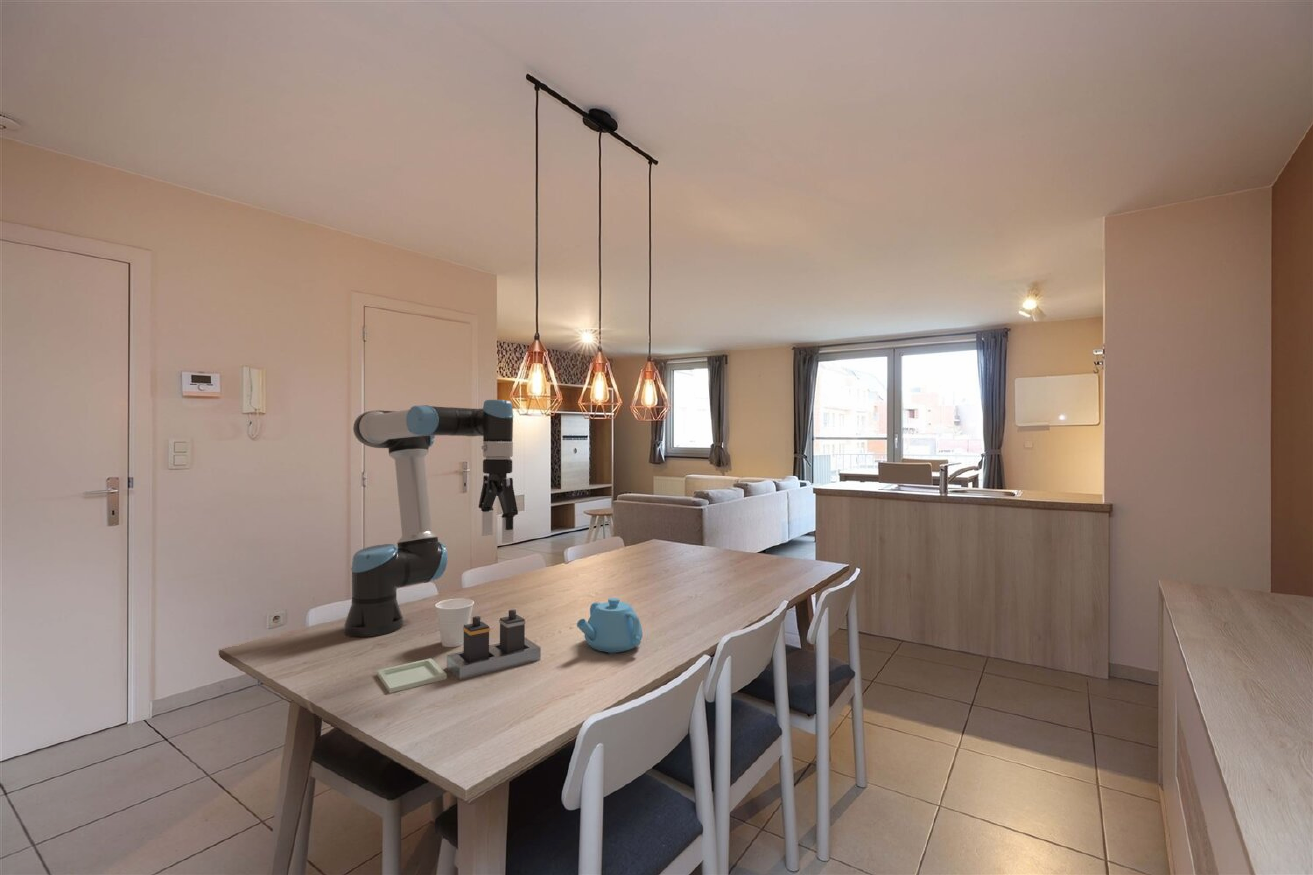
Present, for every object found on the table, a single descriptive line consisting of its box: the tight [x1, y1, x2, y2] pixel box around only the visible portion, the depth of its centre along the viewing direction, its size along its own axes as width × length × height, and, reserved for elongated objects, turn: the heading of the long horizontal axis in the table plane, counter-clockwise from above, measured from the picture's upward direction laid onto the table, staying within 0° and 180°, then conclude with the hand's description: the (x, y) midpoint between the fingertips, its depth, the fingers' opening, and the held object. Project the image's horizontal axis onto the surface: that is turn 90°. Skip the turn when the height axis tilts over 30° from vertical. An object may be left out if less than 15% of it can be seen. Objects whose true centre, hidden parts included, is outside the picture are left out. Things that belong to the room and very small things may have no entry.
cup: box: [434, 598, 475, 648], centre depth 150 cm, size 10×10×11 cm
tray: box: [376, 657, 448, 694], centre depth 129 cm, size 12×12×2 cm
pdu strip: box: [446, 637, 542, 681], centre depth 137 cm, size 9×20×4 cm, turn 128°
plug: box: [462, 615, 491, 663], centre depth 134 cm, size 5×5×12 cm
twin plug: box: [498, 609, 526, 654], centre depth 139 cm, size 5×5×12 cm
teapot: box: [576, 597, 643, 655], centre depth 148 cm, size 20×20×13 cm
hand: (497, 538), depth 148 cm, fingers open, 13 cm apart
